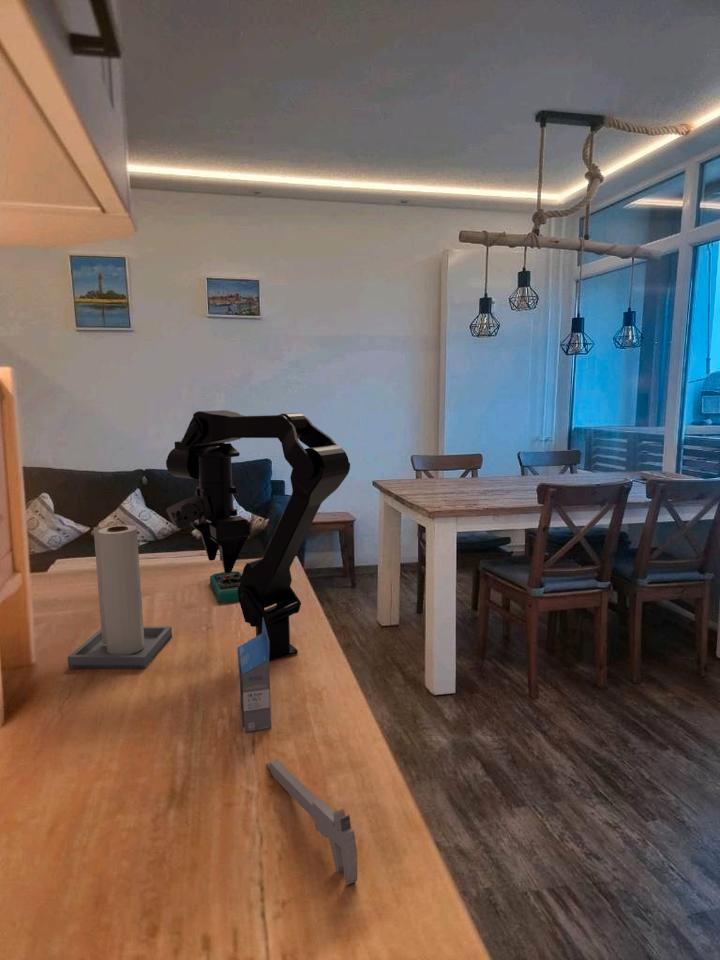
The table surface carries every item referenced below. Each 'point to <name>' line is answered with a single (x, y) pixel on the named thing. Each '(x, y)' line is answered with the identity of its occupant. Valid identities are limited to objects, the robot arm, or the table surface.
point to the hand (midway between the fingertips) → (219, 566)
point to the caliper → (323, 821)
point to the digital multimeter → (226, 585)
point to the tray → (98, 657)
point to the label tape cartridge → (255, 683)
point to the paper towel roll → (119, 589)
